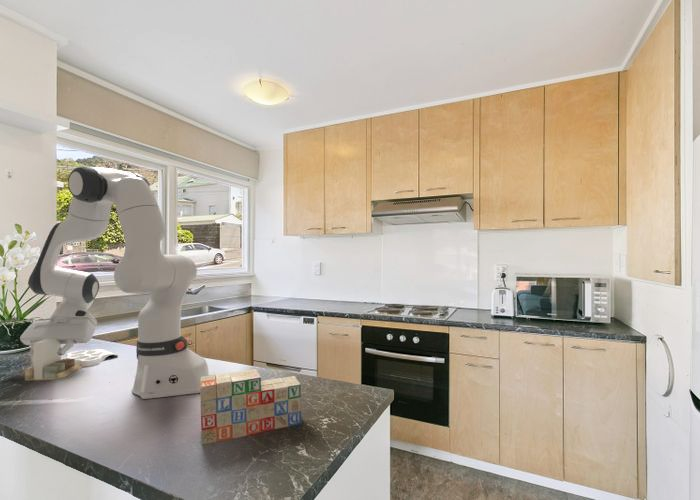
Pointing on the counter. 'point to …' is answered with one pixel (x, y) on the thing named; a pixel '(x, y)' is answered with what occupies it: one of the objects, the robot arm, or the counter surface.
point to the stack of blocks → (247, 405)
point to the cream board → (45, 355)
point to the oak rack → (30, 376)
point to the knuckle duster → (89, 357)
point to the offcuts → (57, 368)
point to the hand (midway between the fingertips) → (46, 354)
